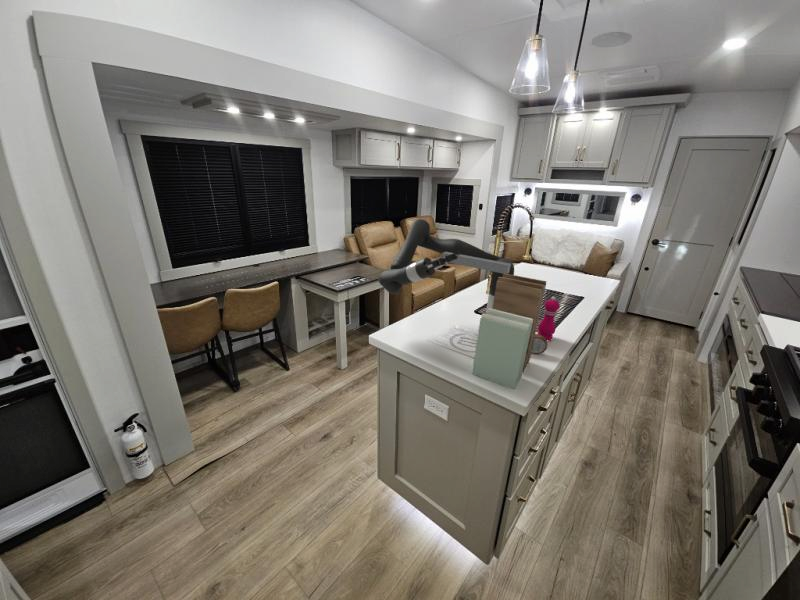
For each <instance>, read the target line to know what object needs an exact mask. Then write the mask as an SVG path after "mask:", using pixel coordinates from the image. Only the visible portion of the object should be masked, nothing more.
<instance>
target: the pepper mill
mask: <svg viewBox="0 0 800 600" xmlns="http://www.w3.org/2000/svg"><path fill="white" fill-rule="evenodd" d="M543 306H544V311H543V312H544V316H543V319H542V320H541V321H540V322H539V324H537V331H538V332H537V334H539V335H542V336H543V337H545V339H546V340H550V341H552V340H551V339H553V335H554V334H555V333H556V325H555V316H556V315H557V313H558V310H559V309H560V306H561V305H560V303H559V301H558V300H557V298H556V296H552V297H551V298H550V299H547V300H546V301H545V302H544V304H543Z"/></svg>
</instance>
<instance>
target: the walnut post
mask: <svg viewBox="0 0 800 600" xmlns="http://www.w3.org/2000/svg"><path fill="white" fill-rule="evenodd" d="M546 286H547V280H546V281H545V280H542V279H536V278H531V277H525V276H519V275H516V274H514V275H510V274H503V277H498V281H497V284H496V290H495V296H494V302H493V308H492V309H495V310H499V311H503V312H507V313H511V314H515V315H519V316H523V317H527V318H531V319H533V323H532V328H531V333H530V338H529V342H528V347H527V352H526V356H525V361H524V366H523V370H522V373H524V372H525V370H526V369H527V367H528V365H529V363H530V361H531V351H532V346H533V342H534V337H535V334H537V333H536V332H537V329H538V325H539V324H538V323H539V319H540V314H541V310H542V304H543V300H544V295H545V292H546Z"/></svg>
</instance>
